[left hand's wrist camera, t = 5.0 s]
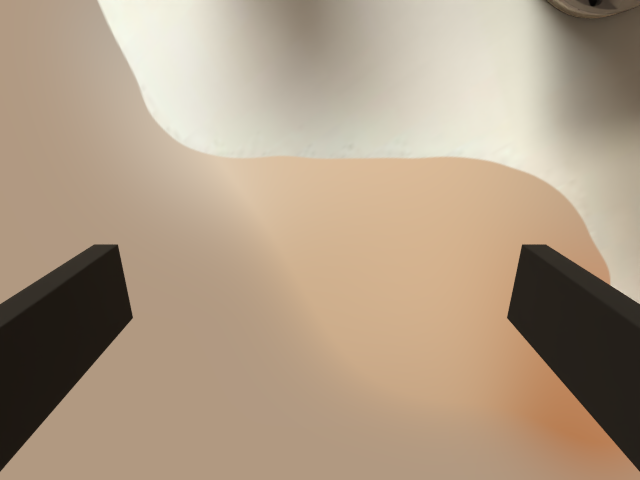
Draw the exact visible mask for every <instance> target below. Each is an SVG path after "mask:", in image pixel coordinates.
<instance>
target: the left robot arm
mask: <svg viewBox="0 0 640 480" xmlns="http://www.w3.org/2000/svg"><path fill="white" fill-rule="evenodd" d="M547 1H548V2H549V3H550V4H552V5H553V6H554V7H555V8H557V9H558V10H560V11H562V12H564V13H566V14H569V15H571V16H575V17H580V18H601V17H606V16H610V15H614V14H617V13H621V12H624V11H627V10H630V9H633V8H635V7H637V6H640V0H547ZM132 318H133V316H132V311H131V306H130V302H129V297H128V292H127V287H126V282H125V277H124V273H123V268H122V263H121V258H120V253H119V248H118V245H93V246H91V247H90V248H88V249H86V250H85V251H83V252H82V253H80V254H79V255H77V256H75V257H74V258H72V259H71V260H69V261H68V262H66V263H64V264H63V265H61V266H60V267H58V268H57V269H55V270H53V271H52V272H50V273H49V274H47V275H46V276H44V277H42V278H41V279H39V280H38V281H36V282H35V283H33V284H31V285H30V286H28V287H27V288H25V289H24V290H22V291H20V292H19V293H17V294H16V295H14V296H12V297H11V298H9V299H8V300H6V301H5V302H3V303H2V304H0V471H1V470H2V469H3V468H4V467H5V465H6V464H7V463H8V462H9V461H10V460H11V458H12V457H13V456H14V455H15V454H16V453H17V451H18V450H19V449H20V448H21V447H22V446H23V445H24V443H25V442H26V441H27V440H28V439H29V438H30V436H31V435H32V434H33V433H34V432H35V431H36V429H37V428H38V427H39V426H40V425H41V424H42V422H43V421H44V420H45V419H46V418H47V417H48V416H49V414H50V413H51V412H52V411H53V410H54V409H55V407H56V406H57V405H58V404H59V403H60V402H61V401H62V399H63V398H64V397H65V396H66V395H67V394H68V392H69V391H70V390H71V389H72V388H73V387H74V385H75V384H76V383H77V382H78V381H79V380H80V379H81V377H82V376H83V375H84V374H85V373H86V372H87V370H88V369H89V368H90V367H91V366H92V365H93V363H94V362H95V361H96V360H97V359H98V358H99V356H100V355H101V354H102V353H103V352H104V351H105V349H106V348H107V347H108V346H109V345H110V344H111V343H112V341H113V340H114V339H115V338H116V337H117V336H118V334H119V333H120V332H121V331H122V330H123V329H124V328H125V326H126V325H127V324H128V323H129V322H130V321H131V319H132ZM507 318H508V319H509V321H510V322H511V323H512V324H513V325H514V326H515V328H516V329H517V330H518V331H519V332H520V333H521V334H522V336H523V337H524V338H525V339H526V340H527V341H528V343H529V344H530V345H531V346H532V347H533V348H534V350H535V351H536V352H537V353H538V354H539V355H540V357H541V358H542V359H543V360H544V361H545V362H546V363H547V365H548V366H549V367H550V368H551V369H552V370H553V372H554V373H555V374H556V375H557V376H558V377H559V378H560V380H561V381H562V382H563V383H564V384H565V385H566V387H567V388H568V389H569V390H570V391H571V392H572V394H573V395H574V396H575V397H576V398H577V399H578V401H579V402H580V403H581V404H582V405H583V406H584V407H585V409H586V410H587V411H588V412H589V413H590V414H591V416H592V417H593V418H594V419H595V420H596V421H597V422H598V424H599V425H600V426H601V427H602V428H603V429H604V431H605V432H606V433H607V434H608V435H609V436H610V438H611V439H612V440H613V441H614V442H615V443H616V445H617V446H618V447H619V448H620V449H621V450H622V451H623V453H624V454H625V455H626V456H627V457H628V458H629V460H630V461H631V462H632V463H633V464H634V465H635V467H636V468H637V469H638V470H639V471H640V304H639V303H637V302H635V301H634V300H632V299H631V298H629V297H628V296H626V295H624V294H623V293H621V292H620V291H618V290H616V289H615V288H613V287H612V286H610V285H609V284H607V283H605V282H604V281H602V280H601V279H599V278H598V277H596V276H594V275H593V274H591V273H590V272H588V271H587V270H585V269H583V268H582V267H580V266H579V265H577V264H576V263H574V262H572V261H571V260H569V259H568V258H566V257H564V256H563V255H561V254H560V253H558V252H557V251H555V250H554V249H552V248H550V247H549V246H547V245H522V248H521V253H520V258H519V263H518V268H517V272H516V277H515V282H514V287H513V292H512V297H511V302H510V306H509V311H508V316H507Z"/></svg>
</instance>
